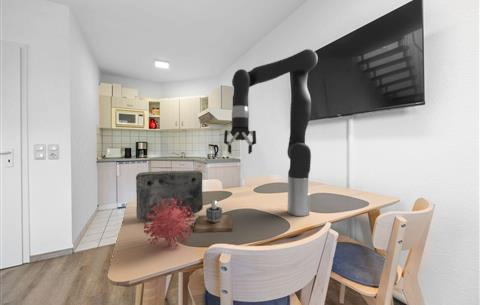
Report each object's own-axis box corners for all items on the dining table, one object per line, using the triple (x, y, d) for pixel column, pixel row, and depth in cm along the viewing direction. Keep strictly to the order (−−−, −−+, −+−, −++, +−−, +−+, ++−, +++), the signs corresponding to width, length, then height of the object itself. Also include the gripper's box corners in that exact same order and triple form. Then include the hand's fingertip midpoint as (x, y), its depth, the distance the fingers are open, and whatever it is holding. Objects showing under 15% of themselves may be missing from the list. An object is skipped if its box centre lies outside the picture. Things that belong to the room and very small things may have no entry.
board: (230, 217, 89) (230, 214, 89) (232, 231, 75) (232, 227, 75) (198, 218, 87) (198, 215, 87) (194, 232, 73) (194, 228, 73)
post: (220, 218, 84) (220, 199, 83) (219, 223, 79) (220, 202, 79) (208, 219, 83) (208, 199, 83) (207, 223, 78) (207, 202, 78)
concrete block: (200, 211, 97) (200, 169, 96) (203, 217, 89) (203, 172, 88) (138, 217, 88) (138, 171, 87) (135, 225, 79) (135, 174, 79)
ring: (221, 214, 84) (221, 206, 84) (221, 219, 78) (221, 211, 78) (206, 214, 84) (207, 206, 84) (205, 219, 78) (205, 211, 77)
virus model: (147, 265, 53) (147, 209, 52) (141, 242, 65) (141, 196, 65) (201, 250, 61) (201, 201, 60) (186, 232, 73) (186, 191, 73)
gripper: (254, 118, 94) (254, 153, 94) (224, 118, 93) (223, 153, 93) (257, 116, 86) (257, 154, 87) (224, 115, 85) (224, 154, 86)
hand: (239, 153), depth 90 cm, fingers open, 8 cm apart
